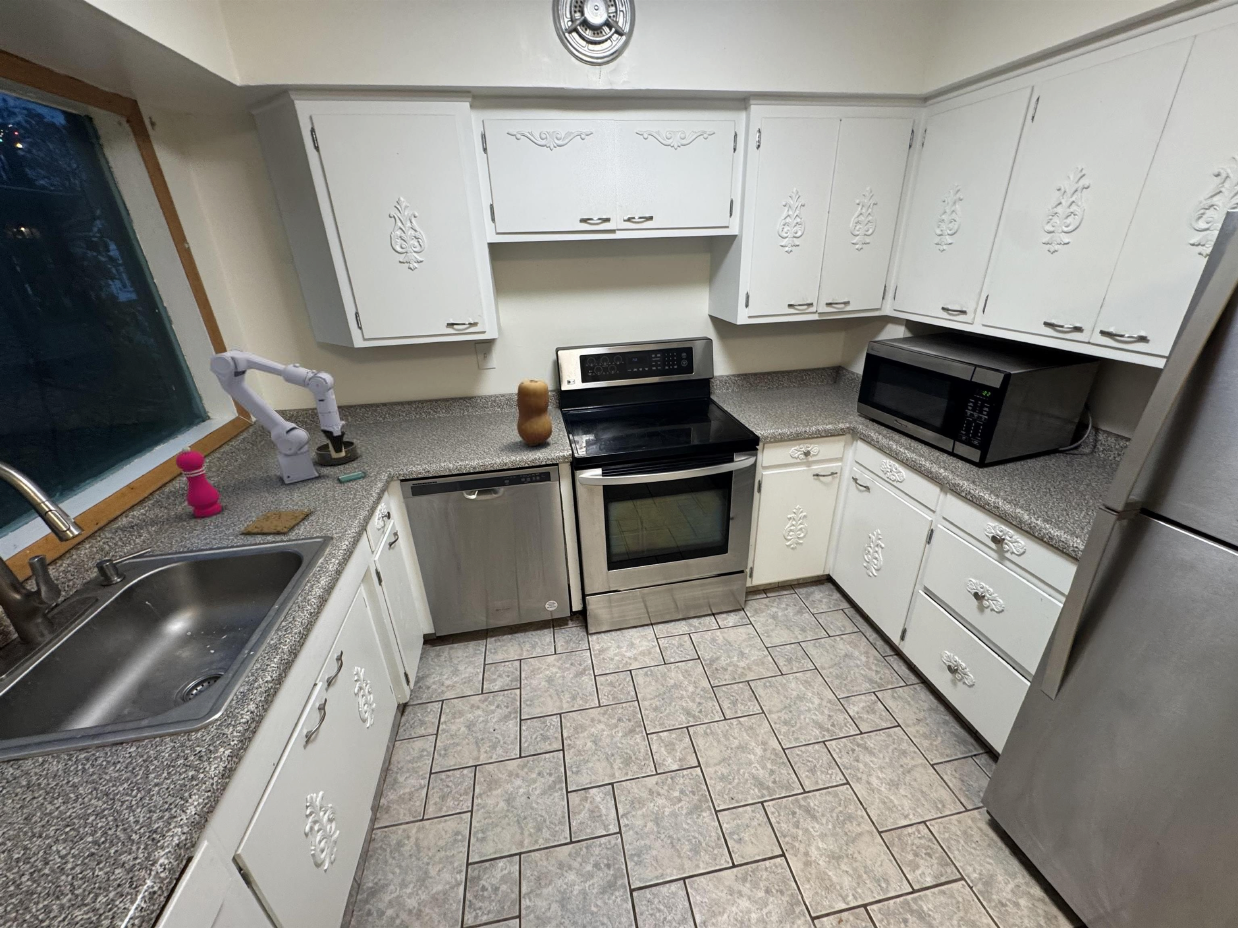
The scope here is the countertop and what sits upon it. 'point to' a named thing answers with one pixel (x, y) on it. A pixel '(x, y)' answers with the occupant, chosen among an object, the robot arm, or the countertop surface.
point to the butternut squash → (533, 412)
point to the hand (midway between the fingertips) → (337, 450)
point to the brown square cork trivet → (275, 522)
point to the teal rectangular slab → (351, 476)
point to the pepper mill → (198, 484)
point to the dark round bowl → (326, 459)
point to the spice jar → (333, 454)
